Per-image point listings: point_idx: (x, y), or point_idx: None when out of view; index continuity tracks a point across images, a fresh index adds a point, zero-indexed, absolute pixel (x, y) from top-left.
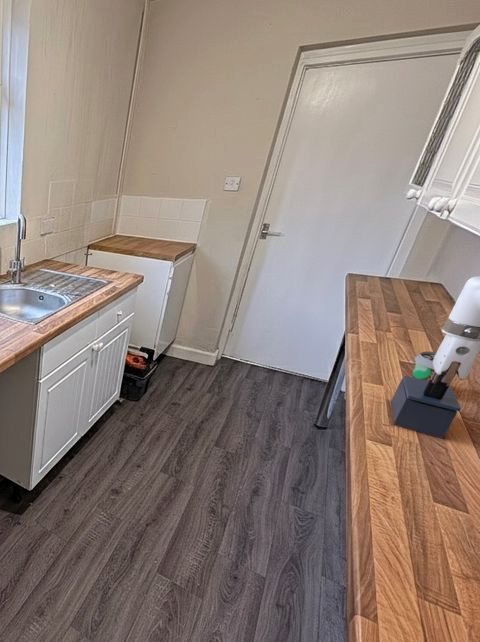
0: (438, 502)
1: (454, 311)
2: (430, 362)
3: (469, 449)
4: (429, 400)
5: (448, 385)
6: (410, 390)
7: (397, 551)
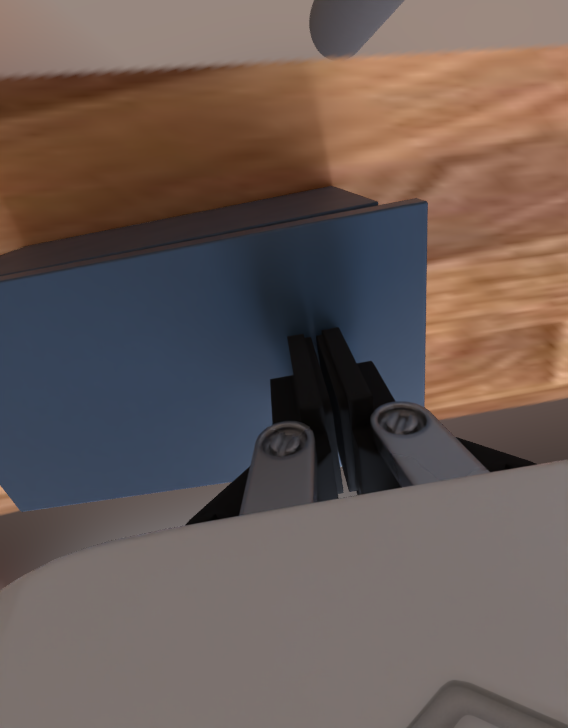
0: None
1: None
2: None
3: (363, 66)
4: (417, 373)
5: (431, 415)
6: None
7: None
